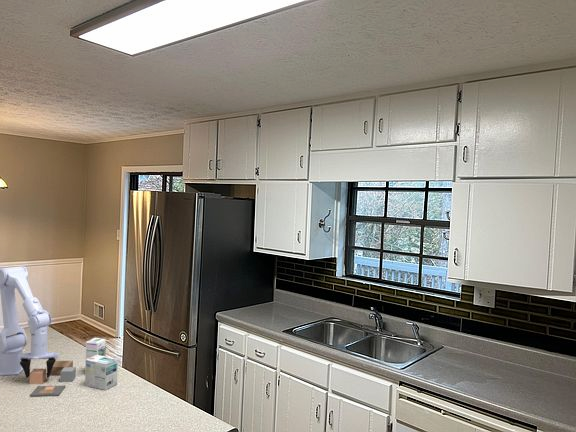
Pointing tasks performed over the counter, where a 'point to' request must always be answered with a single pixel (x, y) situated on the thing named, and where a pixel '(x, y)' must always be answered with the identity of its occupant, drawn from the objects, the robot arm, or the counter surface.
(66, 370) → the slate-grey block
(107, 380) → the light bulb box
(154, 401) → the counter surface
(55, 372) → the walnut block
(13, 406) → the counter surface
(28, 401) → the counter surface
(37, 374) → the terracotta block
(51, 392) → the card
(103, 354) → the syrup box
